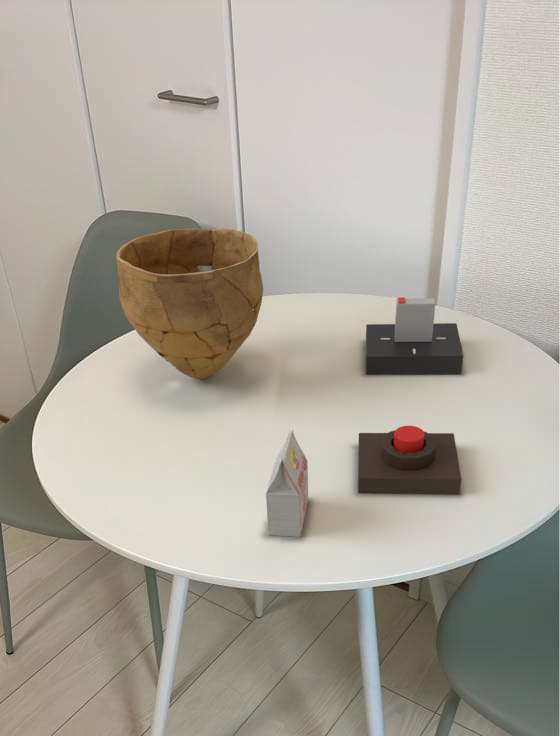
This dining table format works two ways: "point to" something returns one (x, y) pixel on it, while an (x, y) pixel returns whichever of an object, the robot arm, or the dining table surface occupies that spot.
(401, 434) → the power button
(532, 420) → the dining table surface
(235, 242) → the bowl
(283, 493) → the milk carton
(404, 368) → the black flat block
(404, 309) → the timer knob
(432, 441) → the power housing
